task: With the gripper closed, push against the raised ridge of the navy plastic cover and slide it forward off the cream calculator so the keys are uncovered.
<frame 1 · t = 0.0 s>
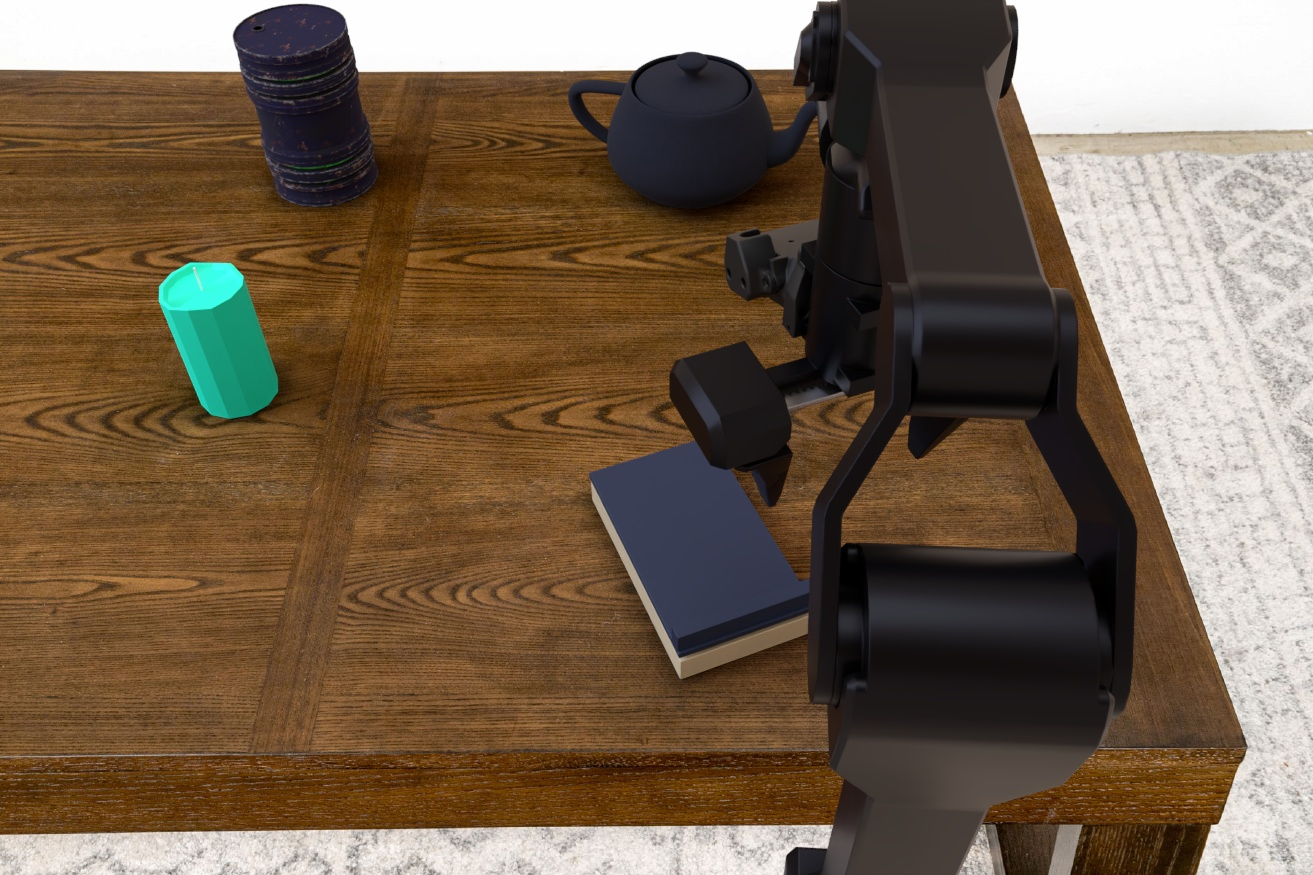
hand: (842, 476, 64), 14 cm above the table, tool pointing down, fingers open, 9 cm apart
dark blue barrel: (327, 179, 111), on the table
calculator: (695, 562, 78), on the table
teapot: (698, 180, 110), on the table
planter: (889, 303, 97), on the table
cover: (696, 531, 76), point 3 cm above the table, slide at 0.0 cm
candle: (240, 393, 90), on the table
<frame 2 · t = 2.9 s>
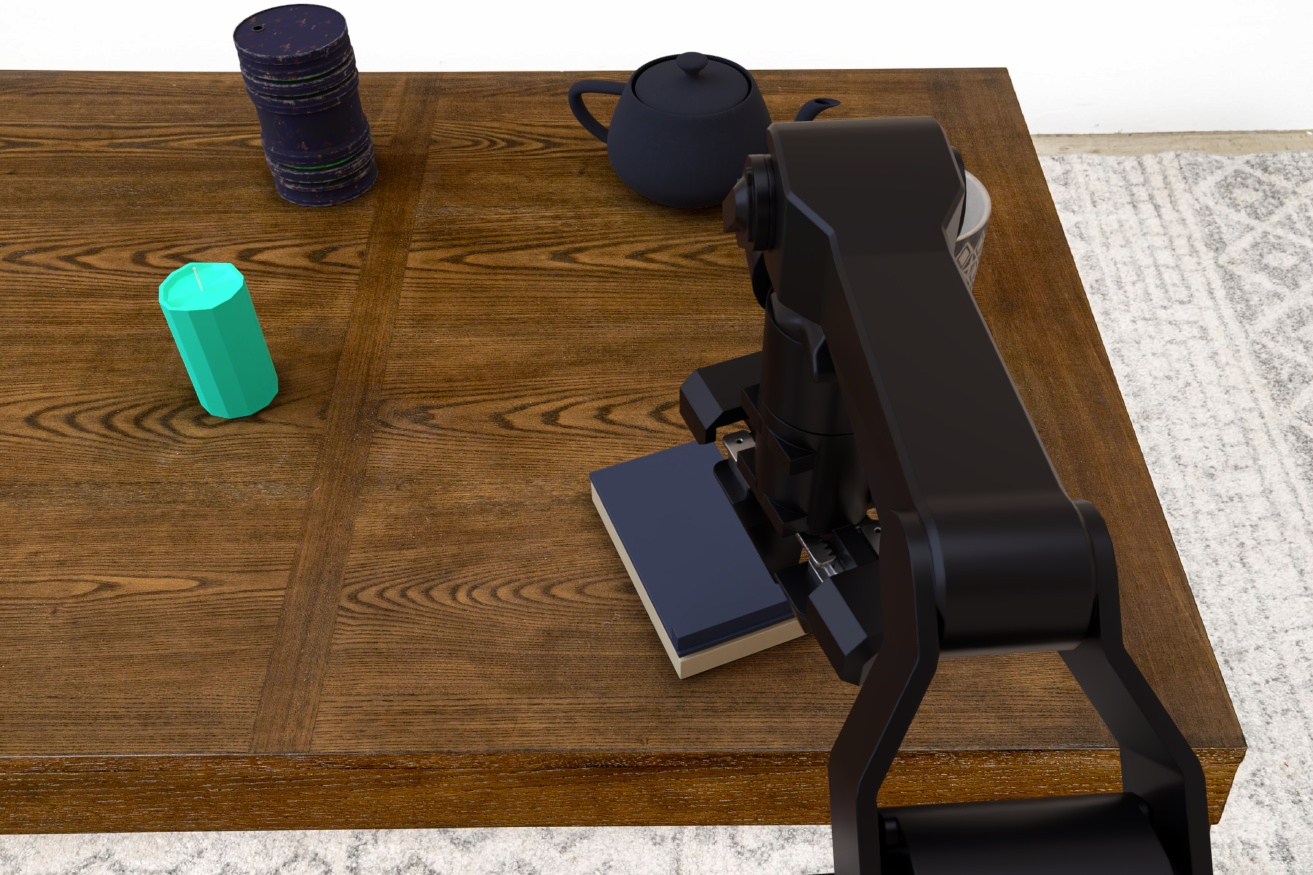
hand: (797, 603, 61), 12 cm above the table, tool pointing down, fingers open, 3 cm apart
nothing on the table moved.
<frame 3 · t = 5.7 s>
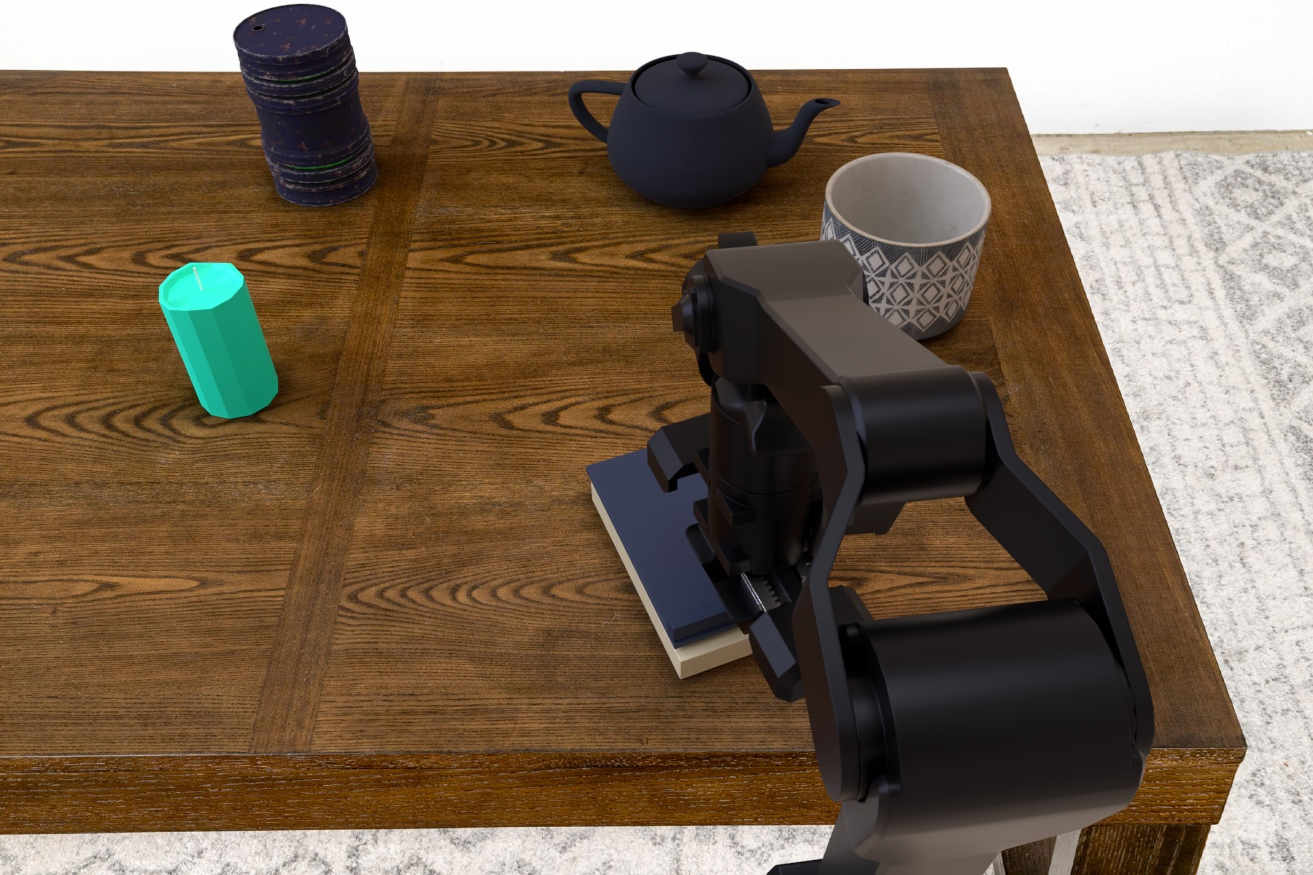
hand: (749, 628, 71), 3 cm above the table, tool pointing down, fingers closed
cover: (692, 524, 76), point 3 cm above the table, slide at 0.7 cm, touching gripper
everything else where it was.
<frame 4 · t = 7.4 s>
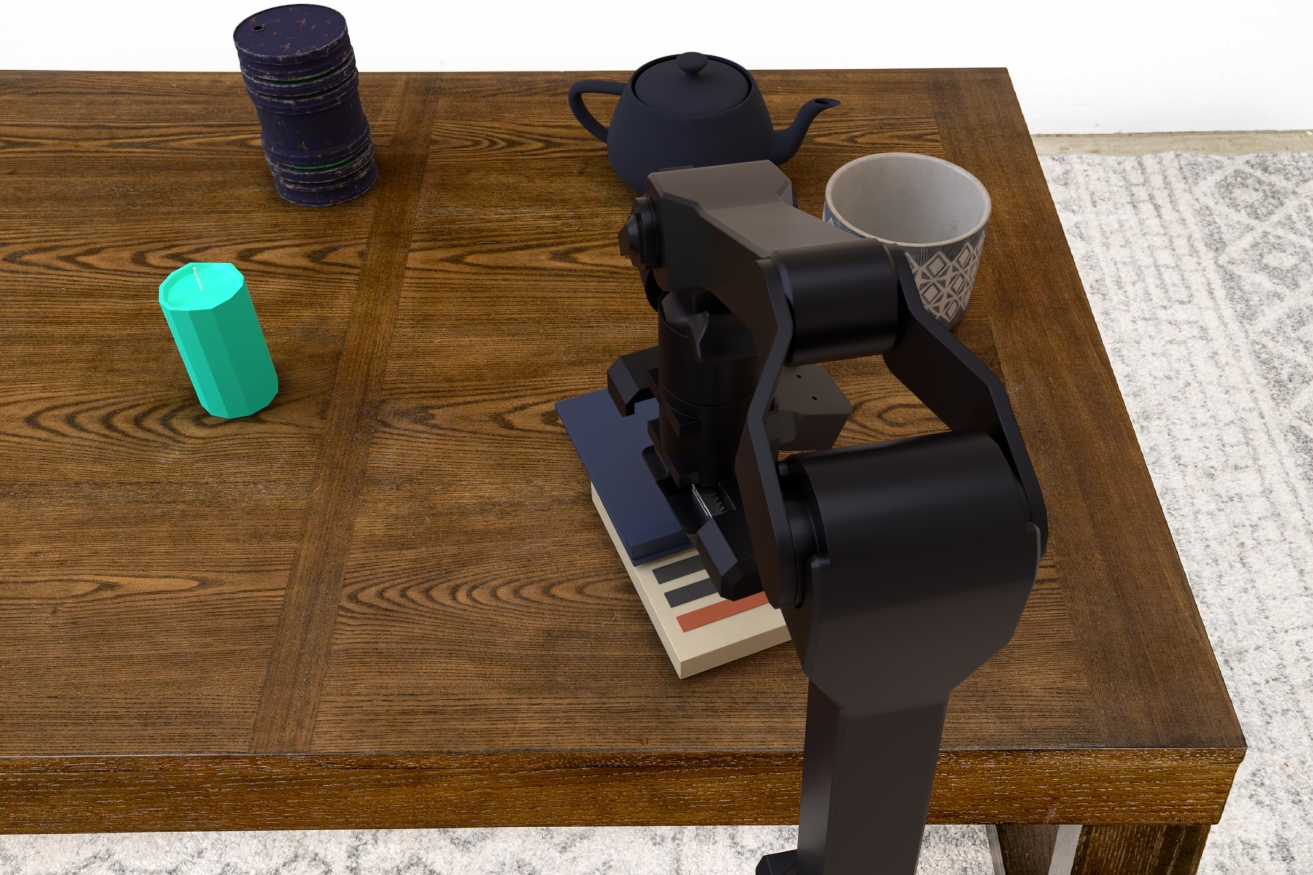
hand: (704, 547, 75), 3 cm above the table, tool pointing down, fingers closed
cover: (653, 454, 80), point 3 cm above the table, slide at 7.5 cm, touching gripper
everything else where it was.
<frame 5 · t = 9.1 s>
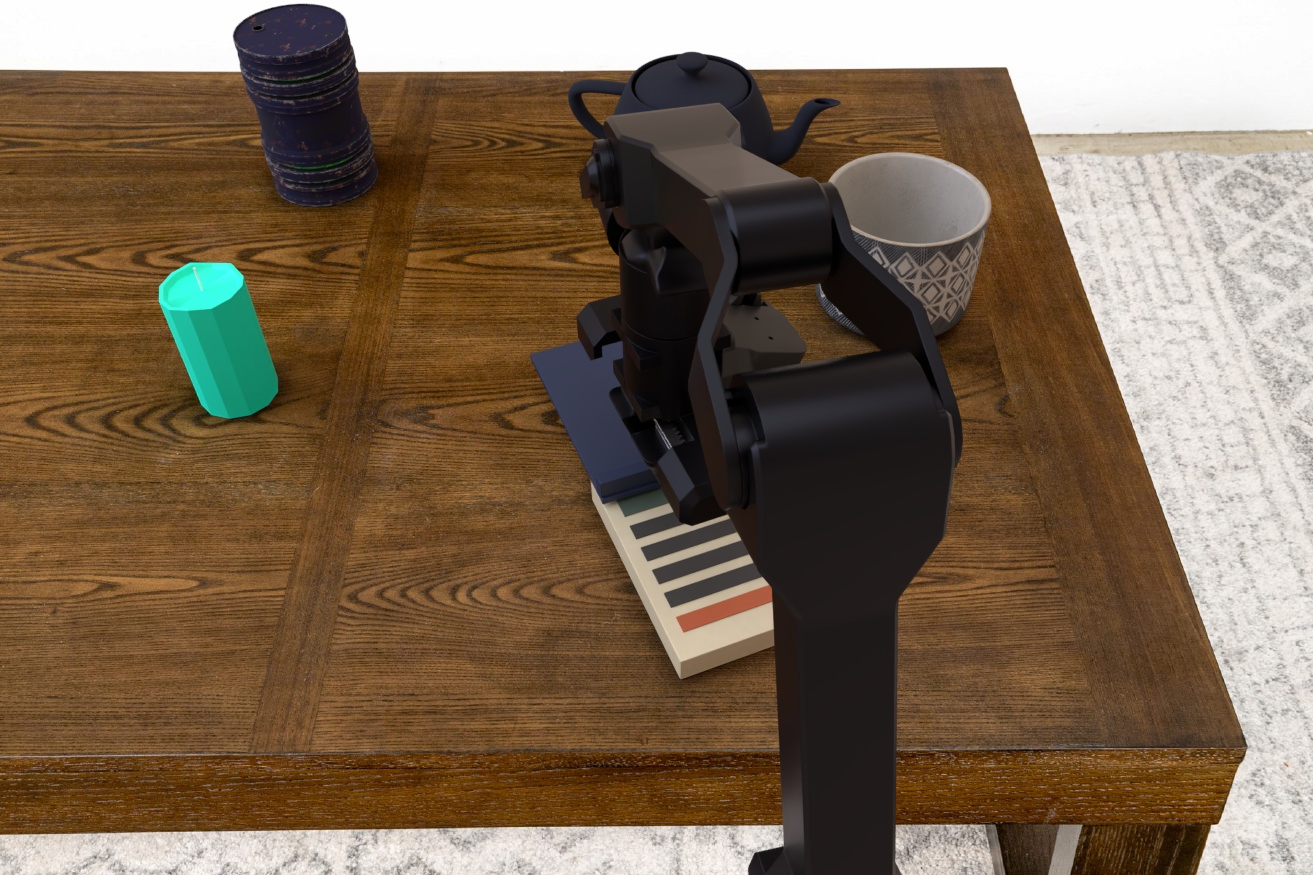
hand: (670, 485, 79), 3 cm above the table, tool pointing down, fingers closed
cover: (623, 400, 84), point 3 cm above the table, slide at 13.3 cm, touching gripper
everything else where it was.
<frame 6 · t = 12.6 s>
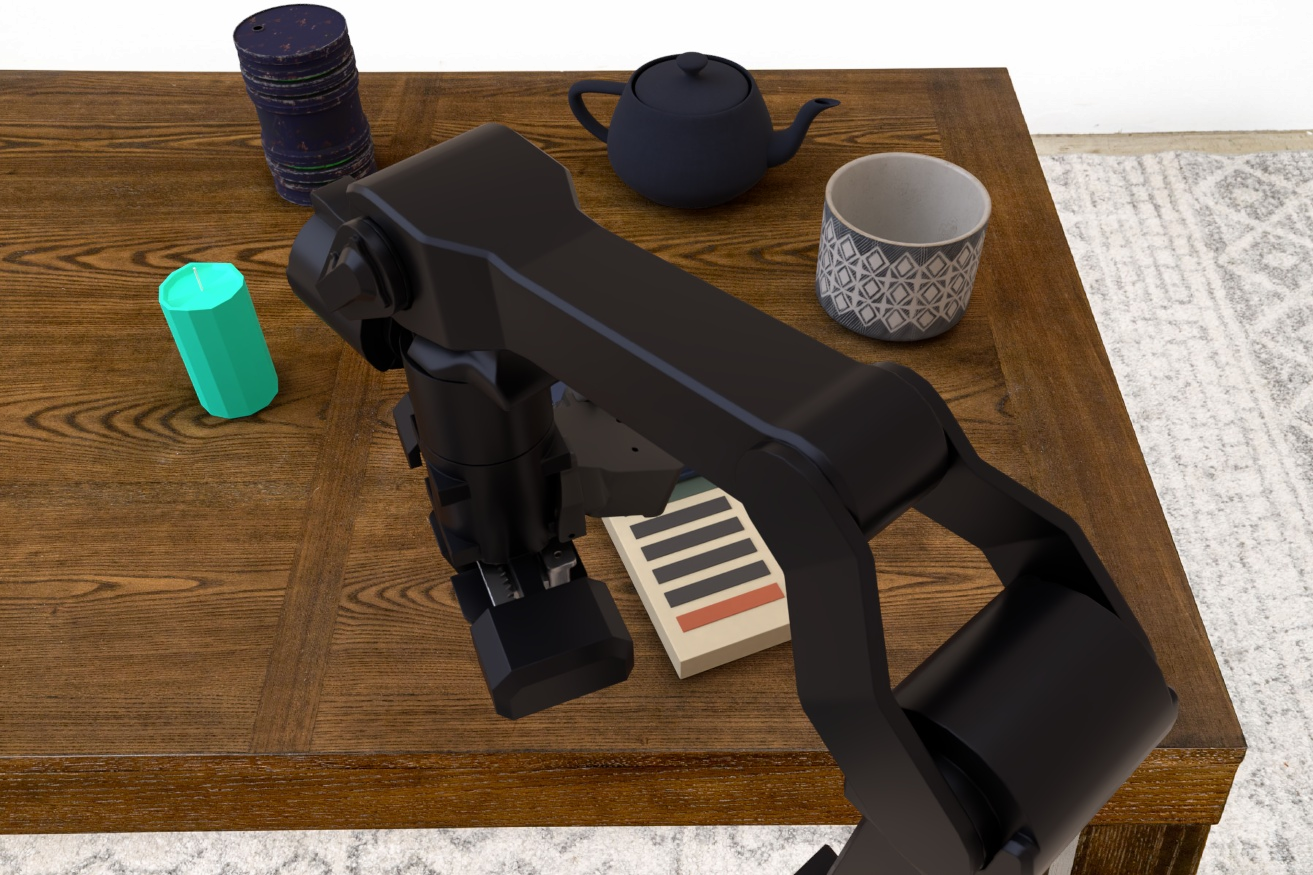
hand: (520, 629, 60), 12 cm above the table, tool pointing down, fingers closed
cover: (623, 400, 84), point 3 cm above the table, slide at 13.3 cm
everything else where it was.
at the end: cover slide at 13.3 cm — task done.
